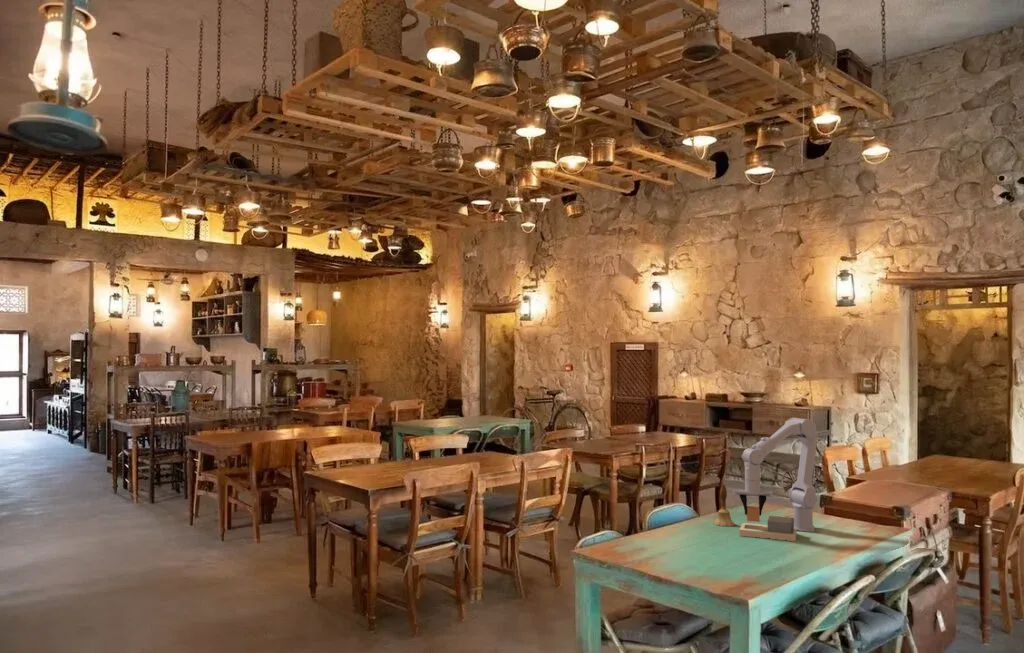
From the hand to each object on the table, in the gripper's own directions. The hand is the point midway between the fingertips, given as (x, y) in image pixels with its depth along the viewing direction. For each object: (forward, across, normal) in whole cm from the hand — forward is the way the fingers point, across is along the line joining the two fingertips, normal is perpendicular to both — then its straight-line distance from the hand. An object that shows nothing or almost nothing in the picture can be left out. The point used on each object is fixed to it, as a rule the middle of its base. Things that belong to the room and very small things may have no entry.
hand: (752, 514), depth 283 cm
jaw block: (+2, 0, 0) cm, 2 cm away
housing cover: (+5, -10, +2) cm, 11 cm away
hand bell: (+8, +10, -13) cm, 18 cm away
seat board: (+7, -5, +1) cm, 9 cm away
